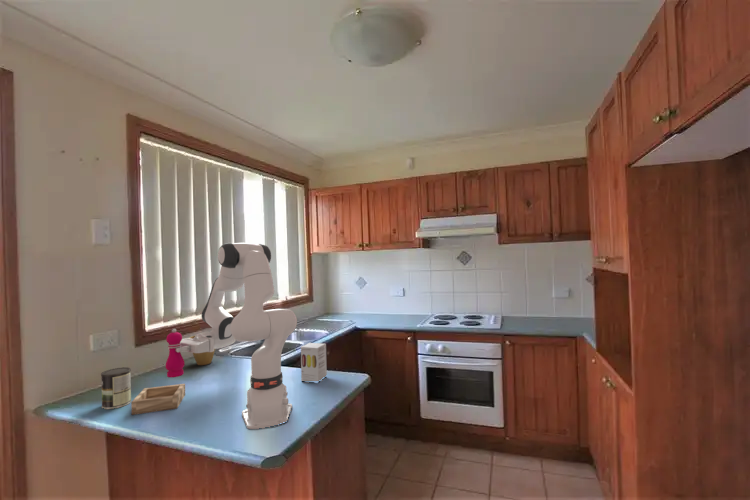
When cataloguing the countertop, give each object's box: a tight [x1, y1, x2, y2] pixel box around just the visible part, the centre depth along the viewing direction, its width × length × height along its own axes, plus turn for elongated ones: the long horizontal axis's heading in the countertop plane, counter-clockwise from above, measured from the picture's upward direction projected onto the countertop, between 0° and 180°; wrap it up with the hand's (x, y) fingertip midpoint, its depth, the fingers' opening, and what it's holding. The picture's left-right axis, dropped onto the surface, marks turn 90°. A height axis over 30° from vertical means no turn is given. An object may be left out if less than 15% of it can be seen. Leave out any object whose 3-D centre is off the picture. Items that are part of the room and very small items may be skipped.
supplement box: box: [300, 342, 328, 381], centre depth 178 cm, size 10×9×17 cm
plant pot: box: [188, 334, 216, 366], centre depth 213 cm, size 15×15×16 cm
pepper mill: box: [165, 328, 185, 378], centre depth 158 cm, size 7×7×20 cm
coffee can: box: [100, 366, 132, 410], centre depth 155 cm, size 10×10×14 cm
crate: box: [130, 383, 186, 416], centre depth 153 cm, size 16×16×5 cm
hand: (172, 349), depth 157 cm, fingers closed on pepper mill, 5 cm apart
